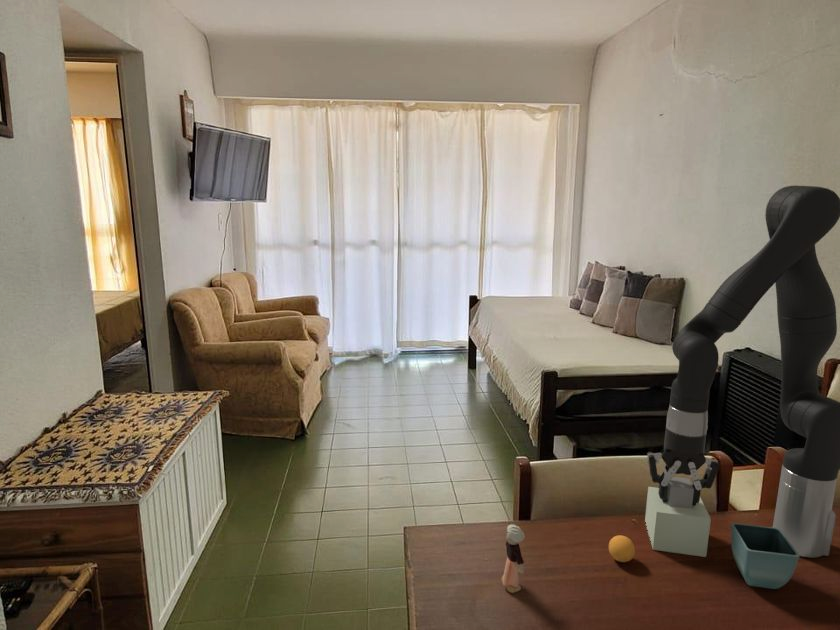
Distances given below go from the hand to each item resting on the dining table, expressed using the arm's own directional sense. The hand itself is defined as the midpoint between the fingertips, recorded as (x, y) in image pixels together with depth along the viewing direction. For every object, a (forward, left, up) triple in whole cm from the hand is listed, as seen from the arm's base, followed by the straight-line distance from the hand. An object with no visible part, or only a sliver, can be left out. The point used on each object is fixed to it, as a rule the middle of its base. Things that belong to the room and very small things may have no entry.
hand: (677, 501), depth 113 cm
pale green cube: (0, 0, -9) cm, 9 cm away
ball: (+12, +10, -6) cm, 17 cm away
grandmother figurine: (+33, +23, -9) cm, 41 cm away
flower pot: (-13, +10, -9) cm, 19 cm away
